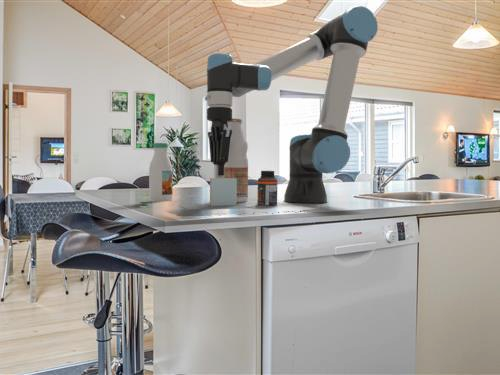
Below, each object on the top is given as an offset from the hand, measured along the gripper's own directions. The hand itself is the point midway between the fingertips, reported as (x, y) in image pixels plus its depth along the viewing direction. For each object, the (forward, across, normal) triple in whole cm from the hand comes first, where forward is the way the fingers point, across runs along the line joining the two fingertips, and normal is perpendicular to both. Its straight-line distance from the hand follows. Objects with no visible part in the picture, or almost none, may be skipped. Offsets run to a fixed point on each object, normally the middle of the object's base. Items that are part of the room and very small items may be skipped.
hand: (219, 186), depth 133 cm
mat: (+6, +6, -4) cm, 10 cm away
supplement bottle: (+7, +6, +13) cm, 16 cm away
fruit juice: (+7, -11, +10) cm, 16 cm away
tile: (+5, +3, 0) cm, 6 cm away
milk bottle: (+7, -23, -11) cm, 27 cm away
